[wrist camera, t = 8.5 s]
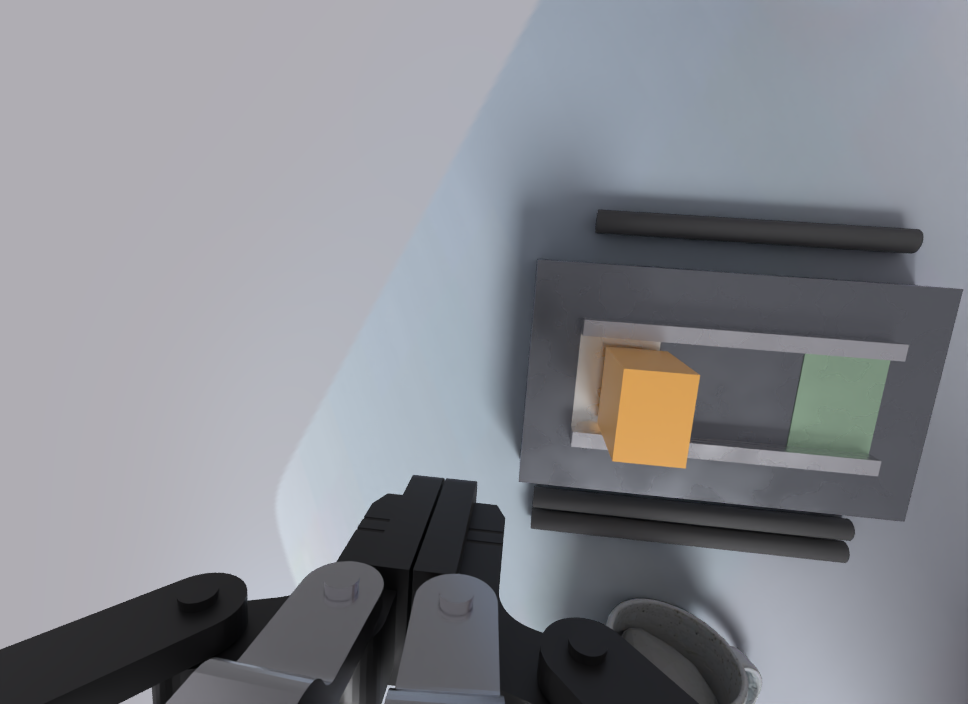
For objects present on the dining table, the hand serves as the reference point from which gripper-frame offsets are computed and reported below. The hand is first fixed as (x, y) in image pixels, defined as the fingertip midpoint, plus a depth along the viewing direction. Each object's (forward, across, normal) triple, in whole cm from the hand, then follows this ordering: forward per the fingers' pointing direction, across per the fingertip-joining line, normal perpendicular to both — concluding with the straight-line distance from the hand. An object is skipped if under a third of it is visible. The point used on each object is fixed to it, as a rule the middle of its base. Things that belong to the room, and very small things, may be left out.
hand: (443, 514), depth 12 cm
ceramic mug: (+18, -12, +18) cm, 29 cm away
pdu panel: (+18, -12, 0) cm, 22 cm away
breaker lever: (+15, -7, 0) cm, 17 cm away
